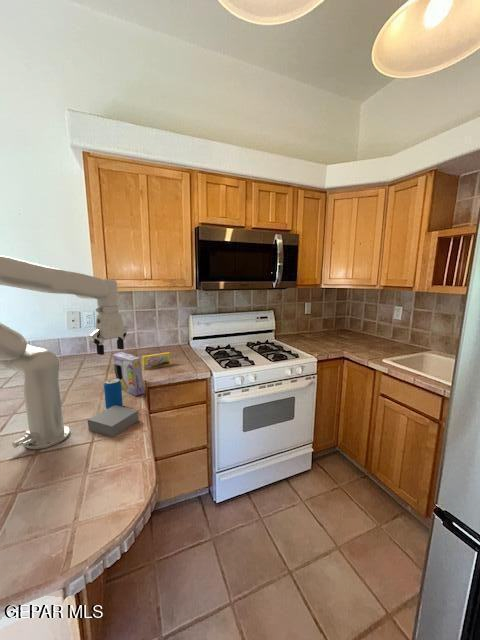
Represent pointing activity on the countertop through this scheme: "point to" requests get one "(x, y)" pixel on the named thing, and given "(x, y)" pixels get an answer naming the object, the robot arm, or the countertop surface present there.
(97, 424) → the block
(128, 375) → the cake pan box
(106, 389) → the beverage can
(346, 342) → the countertop surface
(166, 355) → the candy box
